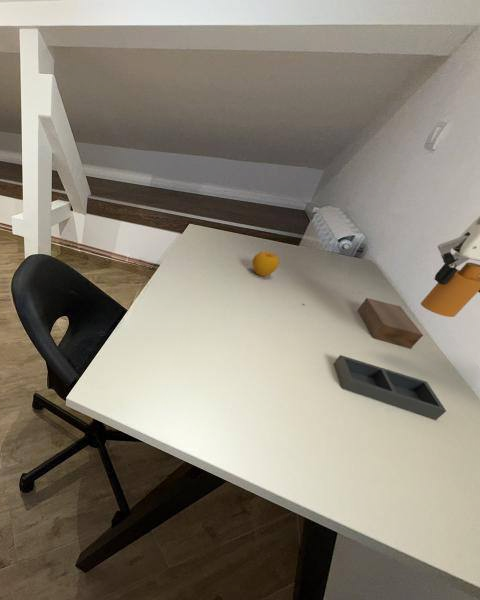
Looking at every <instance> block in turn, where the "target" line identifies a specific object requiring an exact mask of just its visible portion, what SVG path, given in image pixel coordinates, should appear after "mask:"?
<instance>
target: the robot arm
mask: <svg viewBox="0 0 480 600" xmlns="http://www.w3.org/2000/svg"><path fill="white" fill-rule="evenodd" d="M437 249H438V251H439V253H440V256H441V258H442V262H443V263H444V264H443V265H442V266H441V268H440V269H439V270H438V271H437V272H436V274H434V281H436V282H437V283H439V284H441V285H445V284H446V283H447V282H448V281H449V280H450V279H451V278H452V276H453V275H454V274H455V273H456V272H457V270H458V267H459V266H460V265H462V264H464V263H466V262H467V261H469V260H471V261H472V260H473V261H476V262H480V216H478V217H477V218H476V219H475V220H474V221H473V222H472V223H471V224H470V225H469V226H468V227H467V228H466V229H465V230H464V231H463V232H462V233H461V235H459V237H457V238H453V239H450V240H448V241H445V242H443V243H439V244H438V245H437ZM451 250H453V251H455V252H454V253H452V251H451ZM477 293H479V294H480V290H479V291H478V292H477Z"/></svg>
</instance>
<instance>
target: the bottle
mask: <svg viewBox="0 0 480 600" xmlns="http://www.w3.org/2000/svg"><path fill="white" fill-rule="evenodd" d="M479 290H480V264H478V263H475V262H465V264H464V265H463V266H462V267H461V269H457V272H456V273H455V274H454V275H453V276H452V278H451V279H450V280H449V281H448V282H447V283H446V284H445V285H441V284H439V283H438V282H437V283H436V284H435V286H433V288H432V289H431V290H430V291H429V293H428V294H427V295H426V296H425V297H424V298H423V300H422V301H421V303H420V305H421V307H423V308H424V309H426V310H428V311H430V312H431V313H434V314H436V315H440V316H443V317H447V318H455V317H456V316H457V315H458V314H459V312H461V311H462V309H463V308H465V306H466V305H467V304H468V303H469V302H470V301H471V300H472V299H473V298H474V297H475V296H476V295H477V294H478V293H479V292H478V291H479Z"/></svg>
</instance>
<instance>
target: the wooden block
mask: <svg viewBox="0 0 480 600" xmlns="http://www.w3.org/2000/svg"><path fill="white" fill-rule="evenodd" d="M357 312H358V314H359V316H360V318H361V319H362V321H363V323H364V325H365V326H366V328H367V330H368V332H369V334H370V335H371V337H372V339H375V340H378V341H382V342H386V343H390V344H393V345H396V346H399V347H404V348H406V349H412V348H413V347H414V346H415V345H416V344H417V343H418V341H419V340H421V338H422V337H423V336H424V334H423V332H421V330H420V329H419V328H418V327H417V325H416V324H415V322H414V321H413V320H412V319H411V317H410V316H409V315H408V314H407V312H406V311H405V310H404V309H403V307H402V306H400V305H396V304H392V303H390V302H389V303H388V302H385V301H381V300H377V299H374V298H369V297H366V298H365V300H364V301H363V302H362V304H361V305H360V306H359V308H358V309H357Z"/></svg>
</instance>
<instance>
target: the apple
mask: <svg viewBox="0 0 480 600" xmlns="http://www.w3.org/2000/svg"><path fill="white" fill-rule="evenodd" d="M251 262H252V268H253V271H254V272H255V274H256V275H257V276H260V277H264V278H265V277H266V278H267V277H268V276H270V275H271V274H273V273H275V271H276V270H277V269H278V267H279V265H280V258H279V257H278V256H277V255H276V254H275V253H273V252H270V251H261V252H258V253H257V254H255V255H254V257H253V258H252V261H251Z"/></svg>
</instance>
